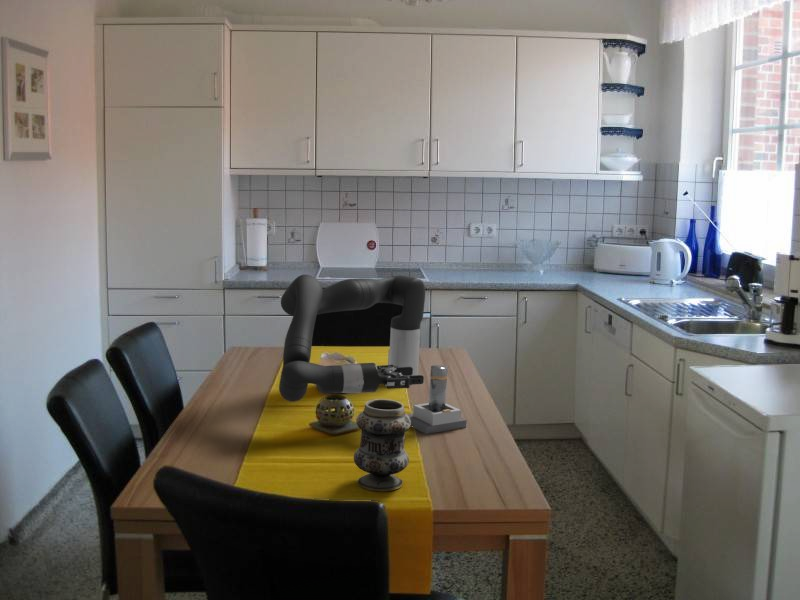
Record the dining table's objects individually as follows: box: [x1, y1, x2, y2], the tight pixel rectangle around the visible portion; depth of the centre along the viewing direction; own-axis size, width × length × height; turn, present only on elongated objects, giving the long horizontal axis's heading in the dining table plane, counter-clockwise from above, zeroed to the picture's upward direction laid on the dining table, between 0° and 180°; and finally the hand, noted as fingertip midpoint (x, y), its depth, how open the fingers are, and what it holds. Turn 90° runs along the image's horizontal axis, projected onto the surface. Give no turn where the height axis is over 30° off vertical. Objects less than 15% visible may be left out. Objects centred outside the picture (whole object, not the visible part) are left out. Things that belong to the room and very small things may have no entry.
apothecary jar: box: [353, 398, 411, 492], centre depth 191 cm, size 12×12×18 cm
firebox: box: [406, 402, 468, 435], centre depth 235 cm, size 11×13×6 cm
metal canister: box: [428, 364, 449, 413], centre depth 233 cm, size 5×5×14 cm
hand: (417, 375), depth 231 cm, fingers open, 8 cm apart
